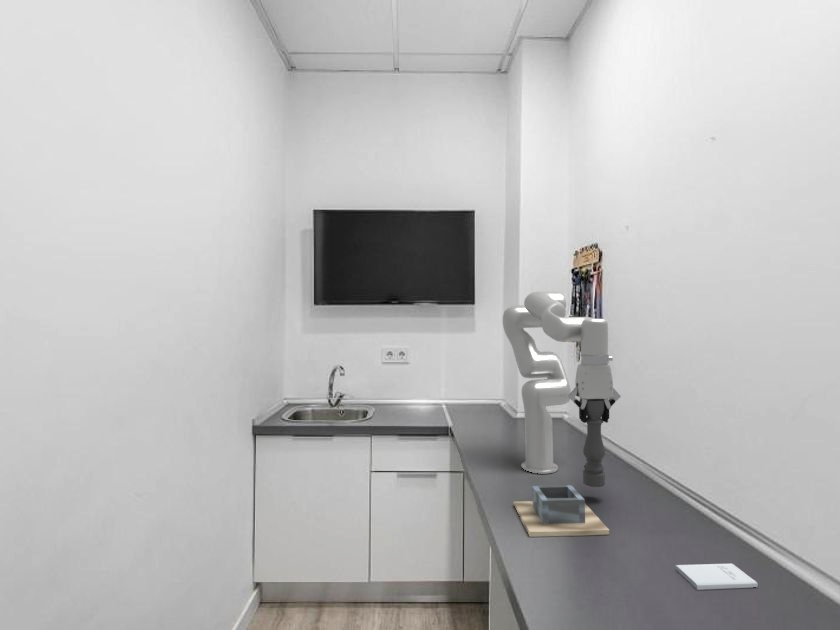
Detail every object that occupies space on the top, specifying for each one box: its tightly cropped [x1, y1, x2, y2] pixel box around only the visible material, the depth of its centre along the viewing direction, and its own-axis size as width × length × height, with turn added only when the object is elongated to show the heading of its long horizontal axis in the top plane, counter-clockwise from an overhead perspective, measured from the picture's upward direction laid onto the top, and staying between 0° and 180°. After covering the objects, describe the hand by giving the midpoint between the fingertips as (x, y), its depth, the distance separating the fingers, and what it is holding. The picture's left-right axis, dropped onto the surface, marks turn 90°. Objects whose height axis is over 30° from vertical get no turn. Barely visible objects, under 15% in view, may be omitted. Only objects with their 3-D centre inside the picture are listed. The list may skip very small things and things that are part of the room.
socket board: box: [512, 484, 610, 538], centre depth 135 cm, size 20×20×7 cm
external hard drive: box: [674, 563, 759, 591], centre depth 105 cm, size 2×8×12 cm
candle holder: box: [582, 399, 606, 488], centre depth 148 cm, size 6×6×25 cm
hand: (594, 421), depth 148 cm, fingers closed on candle holder, 5 cm apart
